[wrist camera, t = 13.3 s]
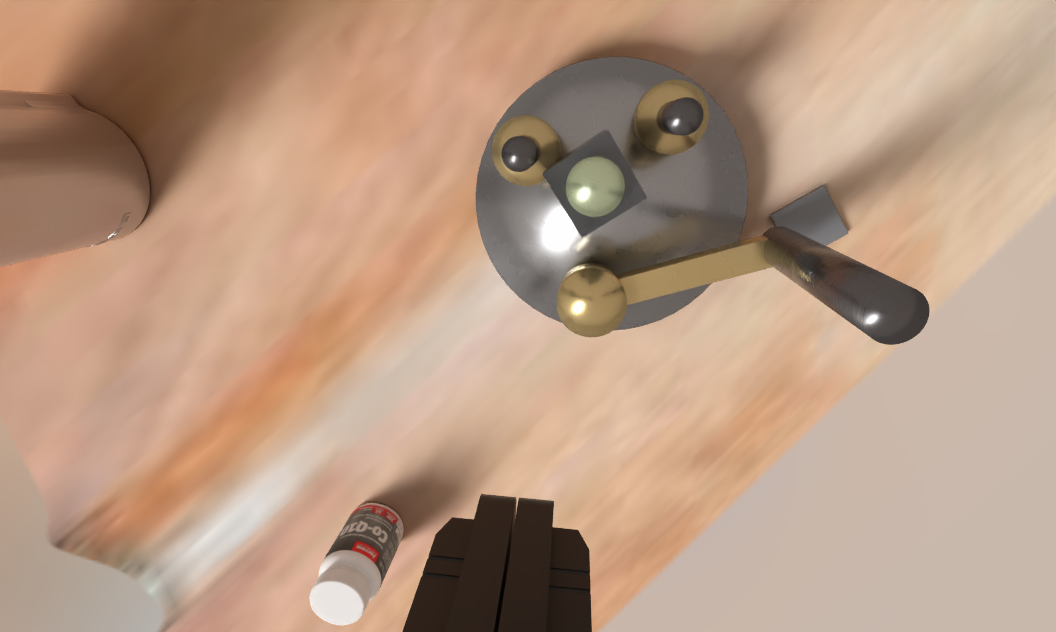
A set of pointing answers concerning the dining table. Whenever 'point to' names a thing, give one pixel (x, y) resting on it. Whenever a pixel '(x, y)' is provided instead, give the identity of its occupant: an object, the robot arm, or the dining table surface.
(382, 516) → the pill bottle
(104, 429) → the dining table surface
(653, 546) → the dining table surface
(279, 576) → the dining table surface
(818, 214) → the plate
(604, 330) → the lever
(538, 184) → the tribrach plate
